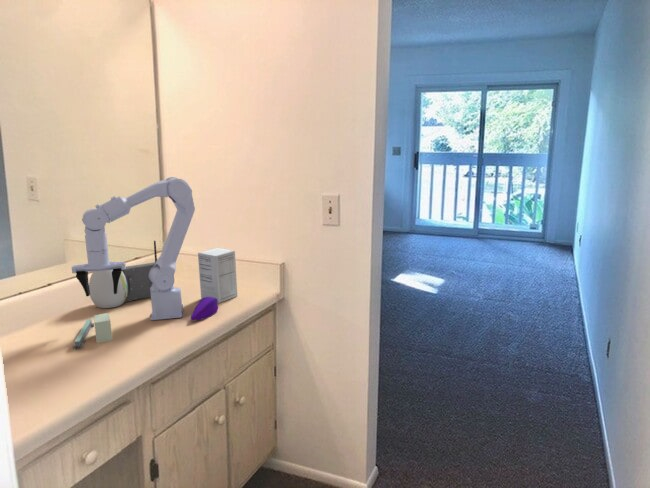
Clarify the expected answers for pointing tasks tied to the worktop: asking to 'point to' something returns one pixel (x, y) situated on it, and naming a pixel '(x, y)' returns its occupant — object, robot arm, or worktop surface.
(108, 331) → the soap box
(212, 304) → the crystal
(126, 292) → the decorative egg
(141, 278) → the electronic device
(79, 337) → the rail
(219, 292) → the supplement box
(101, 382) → the worktop surface
